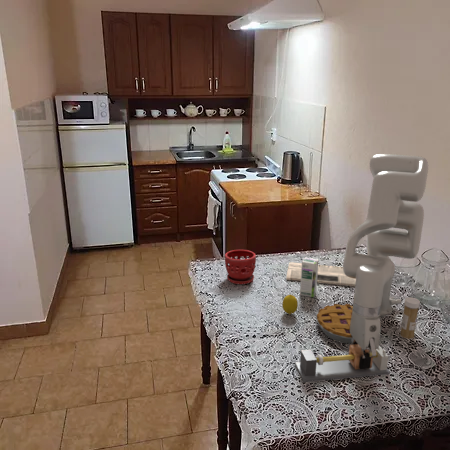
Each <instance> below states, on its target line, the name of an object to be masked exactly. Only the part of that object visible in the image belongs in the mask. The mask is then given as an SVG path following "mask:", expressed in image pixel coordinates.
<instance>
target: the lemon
mask: <svg viewBox="0 0 450 450" xmlns="http://www.w3.org/2000/svg"><path fill="white" fill-rule="evenodd" d="M281 306H282V310H283V311H284V313H286V314H288V315H293V314H294V313H295V312H296V311H297V309H298V307H299V305H298V299H297V298H296V296H294V295H293V294H287V295H286V296H285V297H283V299H282V304H281Z"/></svg>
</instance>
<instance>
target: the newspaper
mask: <svg viewBox="0 0 450 450" xmlns="http://www.w3.org/2000/svg"><path fill="white" fill-rule="evenodd" d="M301 268H302V262H292V261H290V262H289V263H288V267H287V272H286V281H296V282H301ZM355 282H356V279H354V278H350V277H348V276H346V275H345V274H344V271H343V266H334V265H323V264H318V274H317V284H325V285H335V286H345V287H346V286H347V287H354V288H355Z"/></svg>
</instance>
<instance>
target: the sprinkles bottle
mask: <svg viewBox="0 0 450 450" xmlns="http://www.w3.org/2000/svg"><path fill="white" fill-rule="evenodd" d="M403 305H404V308H403V312H402V318H401V319H402V320H401V328H400V332H399V335H400V337H402V338H404V339H406V340H407V339H408V340H412V339H414V338H415V331H416V327H417V322H418V314H419V313H418V312H419V309H420V305H421V301H420V300H419V299H417V298H415V297H412V296H411V297H409V296H408V297H406V298H405V299H404V304H403Z"/></svg>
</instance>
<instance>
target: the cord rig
mask: <svg viewBox="0 0 450 450" xmlns="http://www.w3.org/2000/svg"><path fill="white" fill-rule="evenodd" d="M353 359H355V355H354V354H353V355H349V354H344V355H343V354H342V355H333V356H331V355H330V356H323V355H322V354H317V355H316V356H315V354H314V352H313V351H312V349H301V351H300V361H298V362H297V361H296V362H295V363H294V364H295V365H296V366H295V365H294V366H295V367H296V369H297V372H298V374H299V375H300V378H301V380H302V382H303V383H309V382H318V381H330V380H332V381H333V380H341V379H342V380H343V379H353V378H361V377H363V378H364V377H375V376H383V375H390V374H391V371H390V370H389V369H388V363H389V355H388V353H387V350H386V349H383V348H382V347H381V346H380V344H379V348H378V349H376V356H373V361H372V368H367V369H356V370H355V368H354V367H353V365H352V364H351V363H350V361H349V360H353Z"/></svg>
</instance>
